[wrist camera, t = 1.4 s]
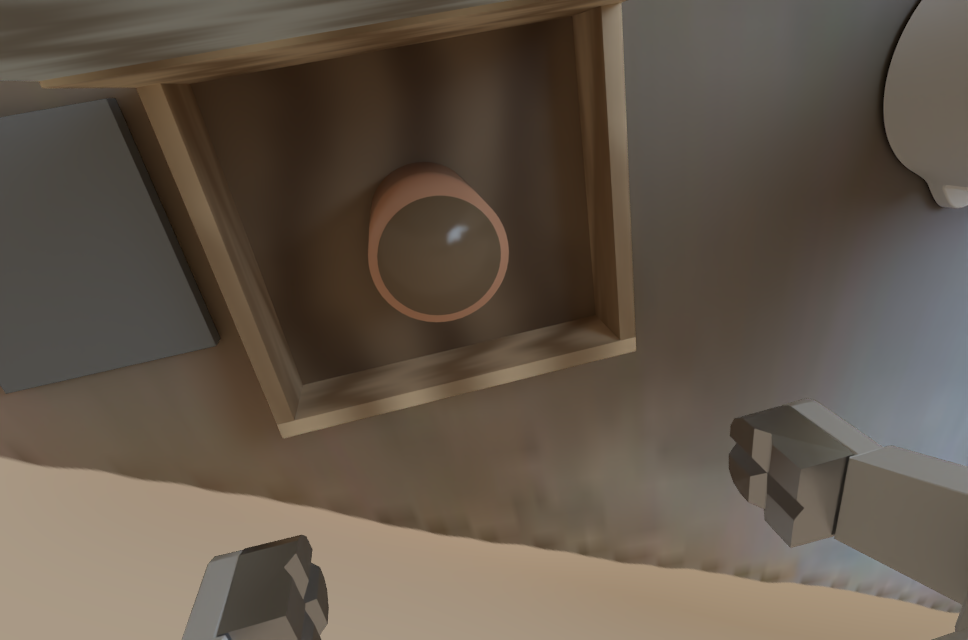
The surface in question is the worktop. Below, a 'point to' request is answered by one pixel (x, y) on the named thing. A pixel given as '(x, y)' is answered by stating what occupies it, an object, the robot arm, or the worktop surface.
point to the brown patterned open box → (373, 173)
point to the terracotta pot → (434, 244)
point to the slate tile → (86, 252)
